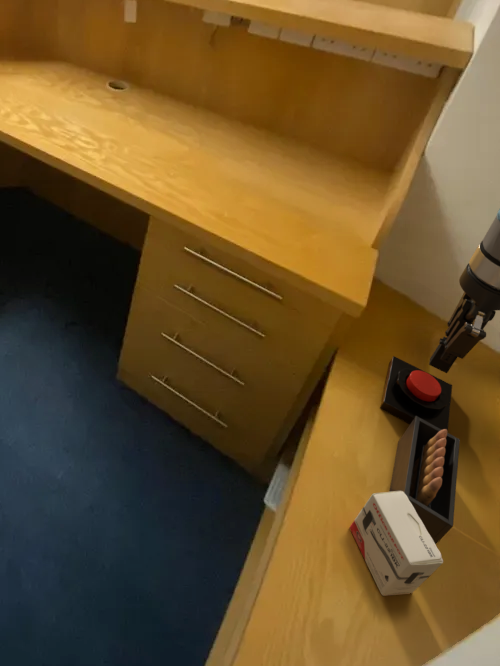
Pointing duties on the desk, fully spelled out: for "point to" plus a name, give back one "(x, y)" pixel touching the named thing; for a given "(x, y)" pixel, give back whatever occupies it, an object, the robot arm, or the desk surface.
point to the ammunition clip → (428, 469)
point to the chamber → (443, 504)
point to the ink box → (395, 543)
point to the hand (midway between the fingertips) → (438, 365)
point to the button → (423, 386)
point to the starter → (413, 397)
